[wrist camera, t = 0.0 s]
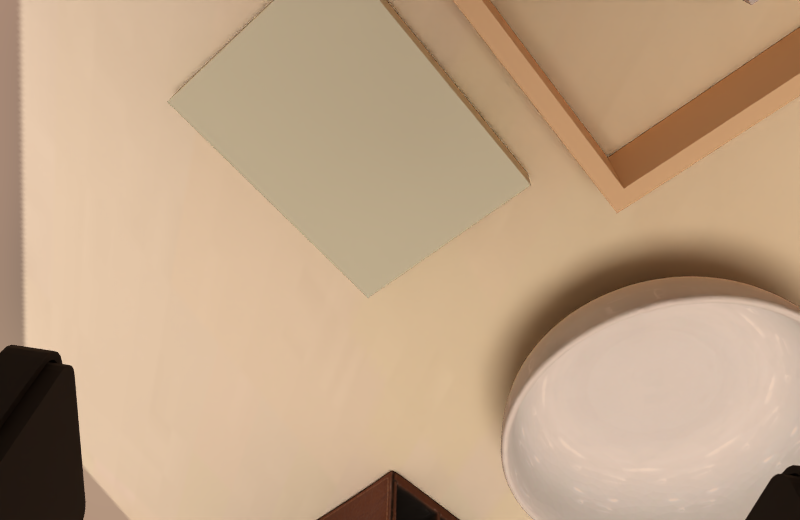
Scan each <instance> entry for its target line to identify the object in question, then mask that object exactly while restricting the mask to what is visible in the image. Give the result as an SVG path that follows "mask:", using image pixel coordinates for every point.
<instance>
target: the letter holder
mask: <svg viewBox="0 0 800 520" xmlns="http://www.w3.org/2000/svg"><path fill="white" fill-rule="evenodd" d="M319 520H458V519H457V518H456V517H454V516H453V515H452V514H450V513H449V512H448V511H446V510H445V509H444V508H442V507H441V506H440V505H438V504H437V503H436V502H434V501H433V500H432V499H431V498H429V497H428V496H427V495H425V494H424V493H423V492H421V491H420V490H419V489H417V488H416V487H415V486H414V485H412V484H411V483H409V482H408V481H407V480H405V479H404V478H402V477H401V476H400V475H398V474H397V473H396V472H394V471H391V472H390V473H388V474H387V475H385V476H384V477H383V478H381V479H380V480H378V481H377V482H375V483H374V484H373V485H371V486H370V487H368V488H367V489H365V490H364V491H362V492H361V493H359V494H358V495H356V496H355V497H353V498H351V499H350V500H348V501H347V502H345V503H344V504H342V505H340V506H339V507H338V508H336V509H334V510H333V511H331V512H330V513H328V514H327V515H325V516H323V517H322V518H320V519H319Z"/></svg>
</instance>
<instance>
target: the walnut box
mask: <svg viewBox="0 0 800 520" xmlns="http://www.w3.org/2000/svg"><path fill="white" fill-rule="evenodd" d="M743 1H745V2H747V3H749V4H750V5H752V4H754V3H755V2H757V1H758V0H743Z"/></svg>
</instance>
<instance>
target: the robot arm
mask: <svg viewBox="0 0 800 520" xmlns="http://www.w3.org/2000/svg"><path fill="white" fill-rule="evenodd" d="M84 514H85V492H84V481H83V468H82V457H81V445H80V433H79V421H78V410H77V398H76V386H75V375H74V369H73V367H72V366H70V365H65V364H62V360H61V356H60V355H59V353H58V352H55V351H49V350H43V349H36V348H30V347H23V346H17V345H10V346H7V347H6V348H5V349H4V350H3V351H1V353H0V520H83V518H84ZM745 520H800V466H799V465H792V466H789V467H787V468H786V469H785V470H784V472H783V473H782V474H776V475H774V476H773V477H772V478H771V480H770V481H769V483H768V484H767V486H766V487H765V489H764V491H763V492H762V494H761V495H760V497H759V499H758V500H757V502H756V503H755V505H754V506H753V508H752V510H751V511H750V513H749V514H748V516H747V518H746V519H745Z"/></svg>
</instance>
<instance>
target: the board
mask: <svg viewBox="0 0 800 520" xmlns="http://www.w3.org/2000/svg"><path fill="white" fill-rule="evenodd" d="M168 103H169V104H170V105H171V106H172V107H173V108H174V109H175V110H176V111H177V112H178V113H179V114H180V115H181V116H182V117H183V118H184V119H185V120H186V121H187V122H188V123H189V124H190V125H191V126H192V127H193V128H194V129H195V130H196V131H197V132H198V133H199V134H200V135H201V136H203V137H204V138H205V139H206V140H207V141H208V142H209V143H210V144H211V145H212V146H213V147H214V148H215V149H216V150H217V151H218V152H219V153H220V154H221V155H222V156H223V157H224V158H225V159H226V160H227V161H228V162H229V163H230V164H231V165H232V166H233V167H234V168H235V169H236V170H237V171H238V172H239V173H240V174H241V175H242V176H243V177H244V178H245V179H247V180H248V181H249V182H250V183H251V184H252V185H253V186H254V187H255V188H256V189H257V190H258V191H259V192H260V193H261V194H262V195H263V196H264V197H265V198H266V199H267V200H268V201H269V202H270V203H271V204H272V205H273V206H274V207H275V208H276V209H277V210H278V211H279V212H280V213H281V214H282V215H283V216H284V217H285V218H286V219H287V220H288V221H290V222H291V223H292V224H293V225H294V226H295V227H296V228H297V229H298V230H299V231H300V232H301V233H302V234H303V235H304V236H305V237H306V238H307V239H308V240H309V241H310V242H311V243H312V244H313V245H314V246H315V247H316V248H317V249H318V250H319V251H320V252H321V253H322V254H323V255H324V256H325V257H326V258H327V259H328V260H329V261H330V262H331V263H332V264H334V265H335V266H336V267H337V268H338V269H339V270H340V271H341V272H342V273H343V274H344V275H345V276H346V277H347V278H348V279H349V280H350V281H351V282H352V283H353V284H354V285H355V286H356V287H357V288H358V289H359V290H360V291H361V292H362V293H363V294H364V295H365V296H366V297H367V298H369V297H370V296H372V295H373V294H375V293H376V292H378V291H379V290H380V289H382V288H383V287H385V286H386V285H388V284H389V283H390V282H392V281H393V280H395V279H396V278H398V277H399V276H401V275H402V274H403V273H405V272H406V271H408V270H409V269H411V268H412V267H414V266H415V265H416V264H418V263H419V262H421V261H422V260H424V259H425V258H427V257H428V256H429V255H431V254H432V253H434V252H435V251H437V250H438V249H439V248H441V247H442V246H444V245H445V244H447V243H448V242H450V241H451V240H452V239H454V238H455V237H457V236H458V235H460V234H461V233H463V232H464V231H465V230H467V229H468V228H470V227H471V226H473V225H474V224H476V223H477V222H478V221H480V220H481V219H483V218H484V217H486V216H487V215H488V214H490V213H491V212H493V211H494V210H496V209H497V208H499V207H500V206H501V205H503V204H504V203H506V202H507V201H509V200H510V199H512V198H513V197H514V196H516V195H517V194H519V193H520V192H522V191H523V190H525V189H526V188H527V187H529V186H530V185H531V184H530V180H529V177H528V174H527V172H526V171H525V170H524V169H523V167H522V166H521V165H520V164H519V162H518V161H517V160H516V159H515V158H514V156H513V155H512V154H511V153H510V151H509V150H508V149H507V148H506V147H505V145H504V144H503V143H502V142H501V140H500V139H499V138H498V137H497V135H496V134H495V133H494V132H493V131H492V129H491V128H490V127H489V126H488V124H487V123H486V122H485V121H484V120H483V118H482V117H481V116H480V115H479V113H478V112H477V111H476V110H475V108H474V107H473V106H472V105H471V104H470V102H469V101H468V100H467V99H466V97H465V96H464V95H463V94H462V93H461V91H460V90H459V89H458V88H457V86H456V85H455V84H454V83H453V82H452V80H451V79H450V78H449V77H448V75H447V74H446V73H445V72H444V70H443V69H442V68H441V67H440V66H439V64H438V63H437V62H436V61H435V59H434V58H433V57H432V56H431V55H430V53H429V52H428V51H427V50H426V48H425V47H424V46H423V45H422V43H421V42H420V41H419V40H418V39H417V37H416V36H415V35H414V34H413V32H412V31H411V30H410V29H409V28H408V26H407V25H406V24H405V23H404V21H403V20H402V19H401V18H400V16H399V15H398V14H397V13H396V12H395V10H394V9H393V8H392V7H391V5H390V4H389V3H388V2H387V1H386V0H273V1H272V2H271V3H270V4H269V5H268V6H267V7H266V8H265V9H264V10H263V11H261V12H260V13H259V14H258V15H257V16H256V17H255V18H254V19H253V20H252V21H251V22H250V23H249V24H248V25H247V26H246V27H245V28H244V29H243V30H241V31H240V32H239V33H238V34H237V35H236V36H235V37H234V38H233V39H232V40H231V41H230V42H229V43H228V44H227V45H226V46H225V47H224V48H223V49H222V50H220V51H219V52H218V53H217V54H216V55H215V56H214V57H213V58H212V59H211V60H210V61H209V62H208V63H207V64H206V65H205V66H204V67H203V68H202V69H200V70H199V71H198V72H197V73H196V74H195V75H194V76H193V77H192V78H191V79H190V80H189V81H188V82H187V83H186V84H185V85H184V86H183V87H182V88H180V89H179V90H178V91H177V92H176V93H175V94H174V95H173V96H172V98H171V99H170V100H169V101H168Z"/></svg>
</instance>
